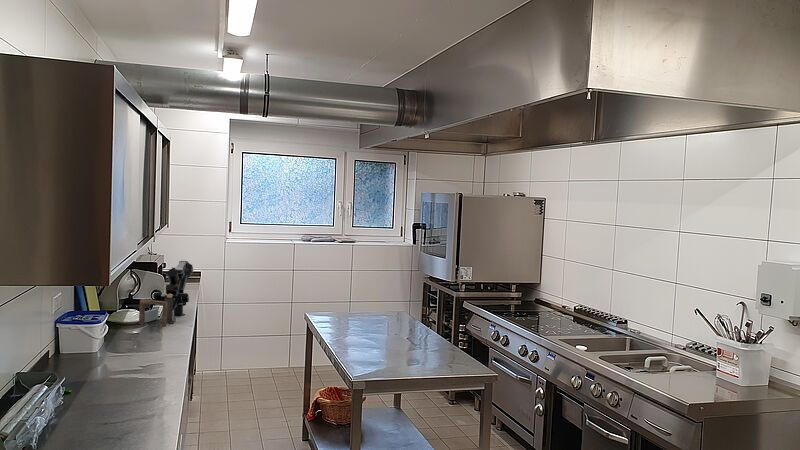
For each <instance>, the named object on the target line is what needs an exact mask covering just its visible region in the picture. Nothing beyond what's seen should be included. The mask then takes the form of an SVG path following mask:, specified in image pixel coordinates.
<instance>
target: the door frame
mask: <svg viewBox="0 0 800 450" xmlns="http://www.w3.org/2000/svg"><path fill="white" fill-rule="evenodd" d="M146 304H148V305H158V306H162V314H161V315H162V316H161V317H162V318H161V320H162V322H161V327H162V328H163V327H164V328H166V327H167V324H166V322H167V302H164V301H155V300H154V299H142V298H141V299H139V308H138V309H139V310H138V311H139V312H138V313H139V314H138V317H139V318H138V324H139V325H145V323H144V322H145V311H146Z"/></svg>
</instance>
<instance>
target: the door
mask: <svg viewBox="0 0 800 450" xmlns="http://www.w3.org/2000/svg"><path fill="white" fill-rule="evenodd" d="M158 319H159V308H154V309H150V310H145V322H144V324H146V323H149V322H152V321H156V320H158Z"/></svg>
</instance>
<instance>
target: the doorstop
mask: <svg viewBox="0 0 800 450" xmlns="http://www.w3.org/2000/svg"><path fill="white" fill-rule="evenodd" d="M166 295H167V298H165V302H167V322H166V325H174V324H175V323H176V317H175V316H174V310H173V305H174V300H175V298H172V297H173V295H172V294H171V293H169V294H166Z"/></svg>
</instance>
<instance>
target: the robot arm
mask: <svg viewBox="0 0 800 450" xmlns="http://www.w3.org/2000/svg"><path fill="white" fill-rule="evenodd" d="M193 273H194V267H193V264H192V263H190V262H189V261H187V260H179V262H178V264H177V266H176V267H171V268H170V269H169V270H167V272H166V276H167V279H168V282H169V283H168V284H166V285H165V293H163V292H157V291H156V292H154V293H153V300H154V301H164V302H165V298H167V294H169V293H171V294H172V295H173V297H172V298H175V300H174V305H173V310H174V317H181V315H182V316H185V315H186V313H184V306H187V303H189V301H190V296H189V293H187V292H185V288H186V284H187V282H188V278H190V277H191V276H192V274H193Z"/></svg>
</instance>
